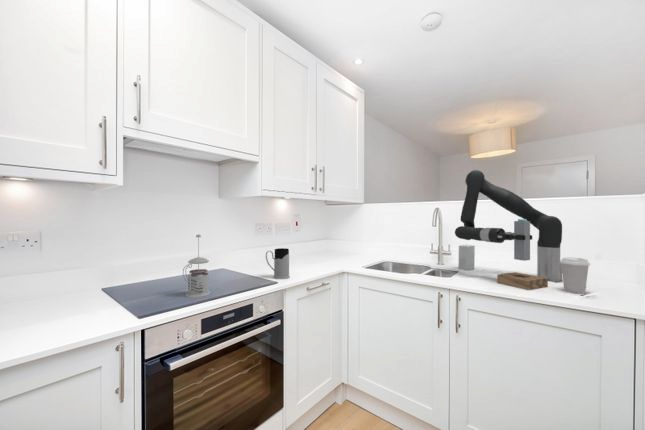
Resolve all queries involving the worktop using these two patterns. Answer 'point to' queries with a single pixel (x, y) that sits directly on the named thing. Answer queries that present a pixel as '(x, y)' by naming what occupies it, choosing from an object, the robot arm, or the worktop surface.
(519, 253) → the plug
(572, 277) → the coffee cup
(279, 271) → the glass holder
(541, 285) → the brown wooden block
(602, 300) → the worktop surface
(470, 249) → the skincare box
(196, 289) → the french press
